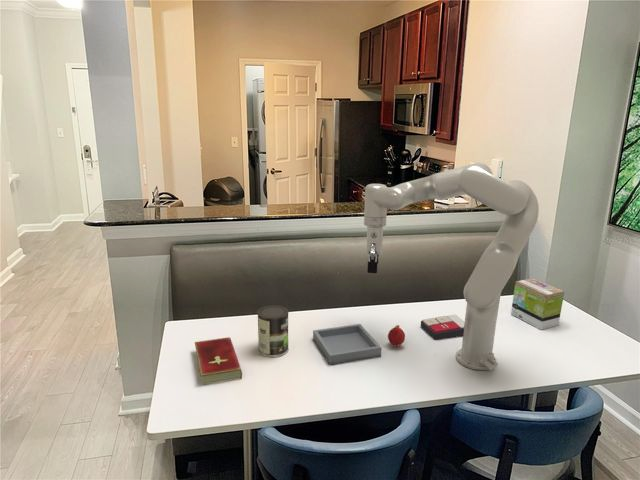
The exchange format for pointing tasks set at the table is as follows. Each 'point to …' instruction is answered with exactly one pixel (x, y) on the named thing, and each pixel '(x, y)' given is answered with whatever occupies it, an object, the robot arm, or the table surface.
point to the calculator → (443, 327)
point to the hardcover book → (217, 361)
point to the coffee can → (273, 331)
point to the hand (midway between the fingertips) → (372, 268)
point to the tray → (346, 344)
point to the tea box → (537, 303)
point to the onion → (396, 336)
